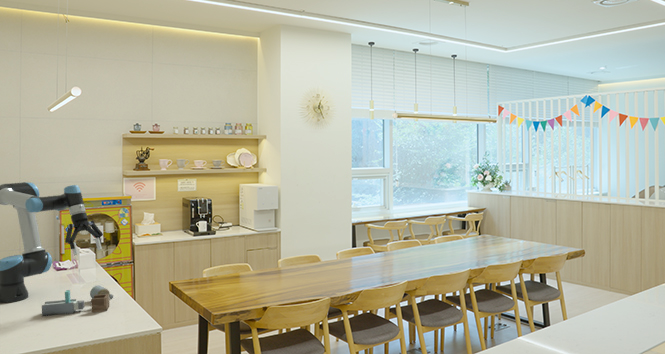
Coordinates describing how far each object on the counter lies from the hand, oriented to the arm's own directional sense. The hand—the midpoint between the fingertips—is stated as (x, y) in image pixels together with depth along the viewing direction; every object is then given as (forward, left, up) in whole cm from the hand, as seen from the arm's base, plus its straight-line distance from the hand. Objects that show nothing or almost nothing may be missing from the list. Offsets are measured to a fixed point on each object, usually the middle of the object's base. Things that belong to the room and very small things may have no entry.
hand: (88, 252), depth 257 cm
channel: (+11, -12, -28) cm, 32 cm away
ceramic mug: (-7, +5, -28) cm, 29 cm away
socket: (+11, +7, -28) cm, 31 cm away
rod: (+11, -10, -27) cm, 30 cm away
